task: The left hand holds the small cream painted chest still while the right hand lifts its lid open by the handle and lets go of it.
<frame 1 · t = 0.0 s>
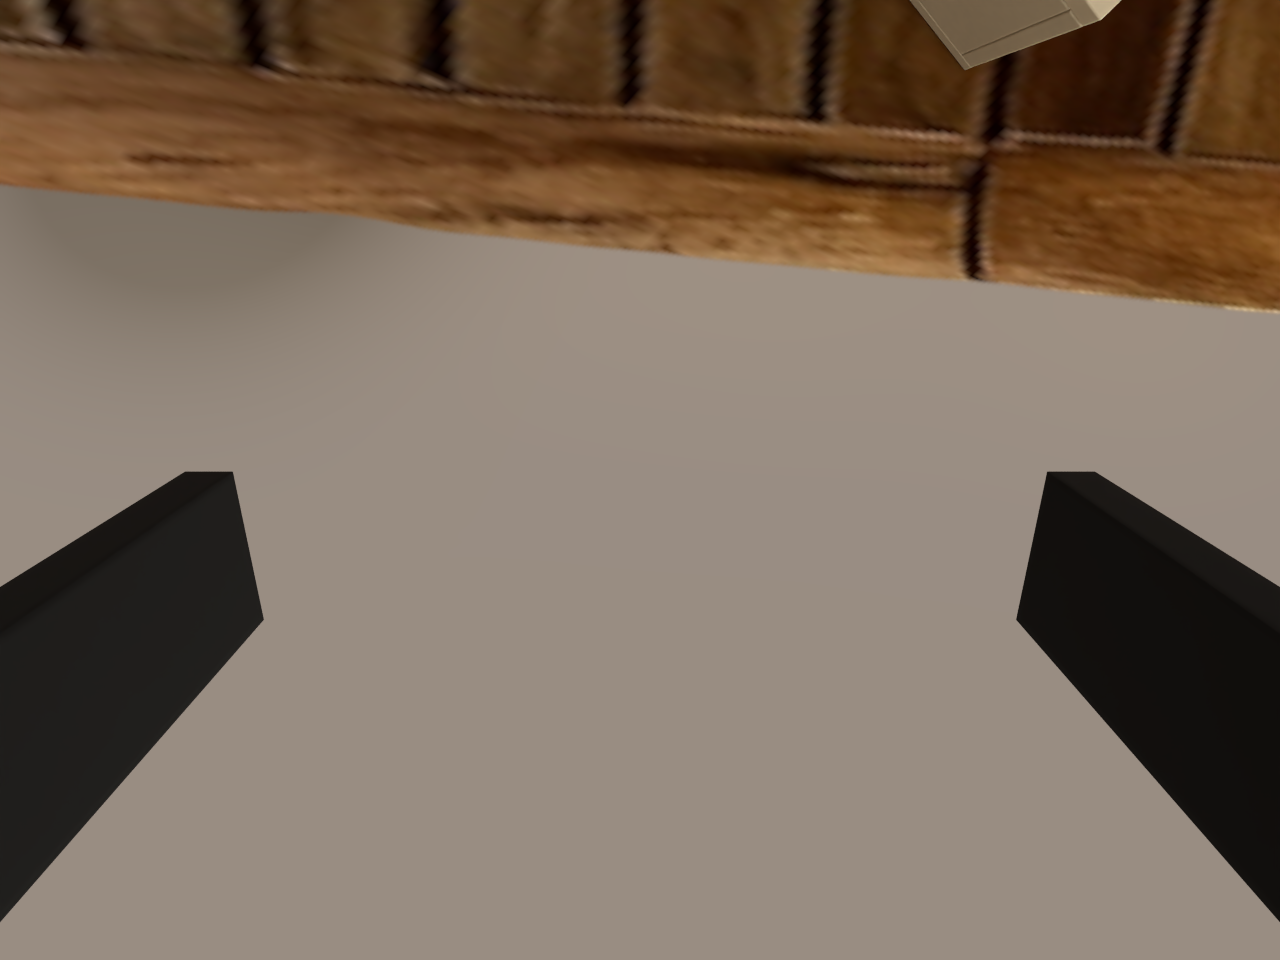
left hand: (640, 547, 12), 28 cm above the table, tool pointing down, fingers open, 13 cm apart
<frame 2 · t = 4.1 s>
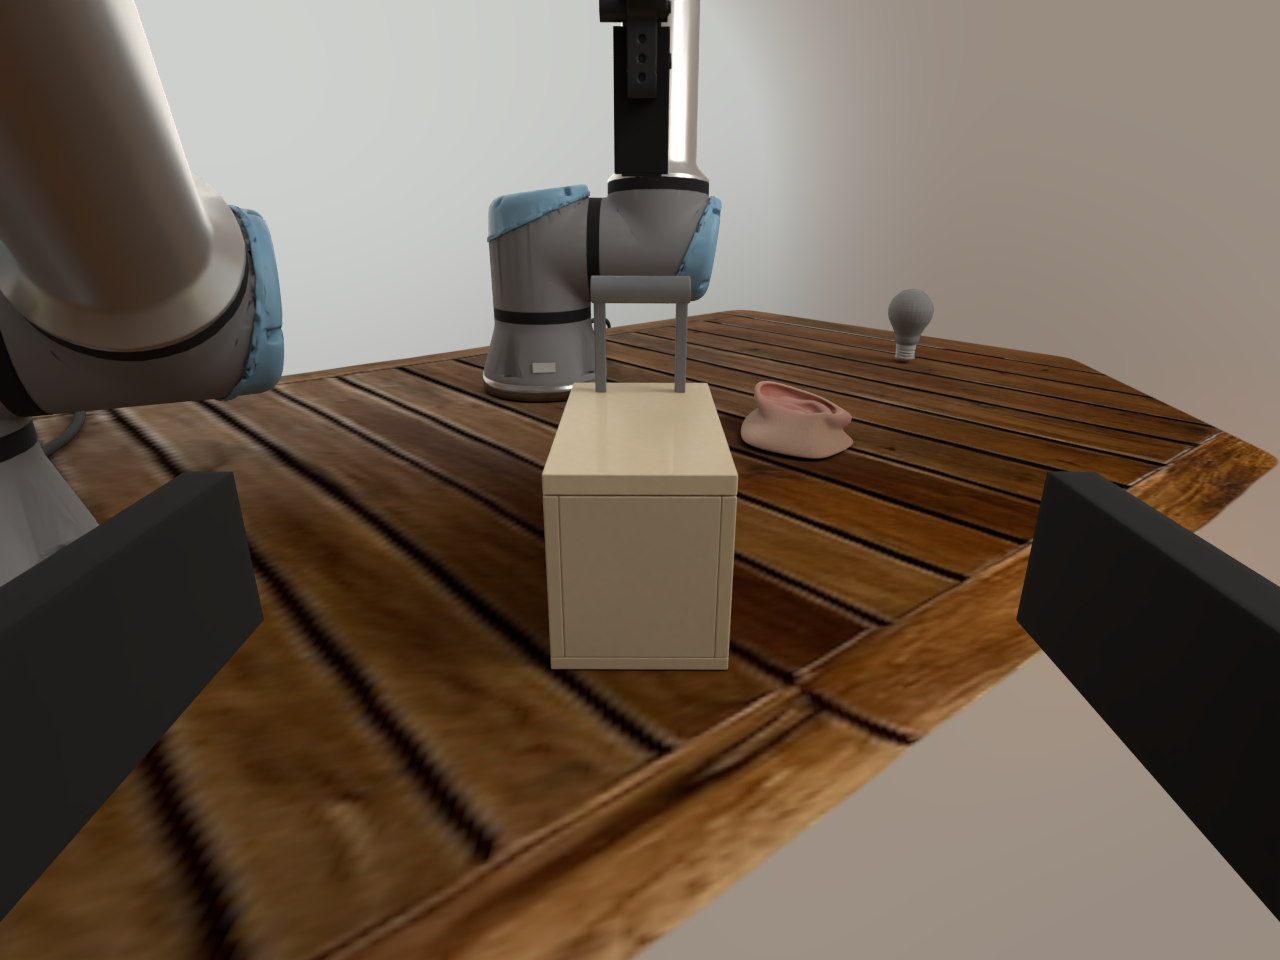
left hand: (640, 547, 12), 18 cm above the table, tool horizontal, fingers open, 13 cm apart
lid: (640, 366, 42), point 14 cm above the table, hinge at 0.0°
chest: (639, 590, 47), on the table
light bulb: (903, 361, 108), on the table
anatomical model: (794, 437, 76), on the table
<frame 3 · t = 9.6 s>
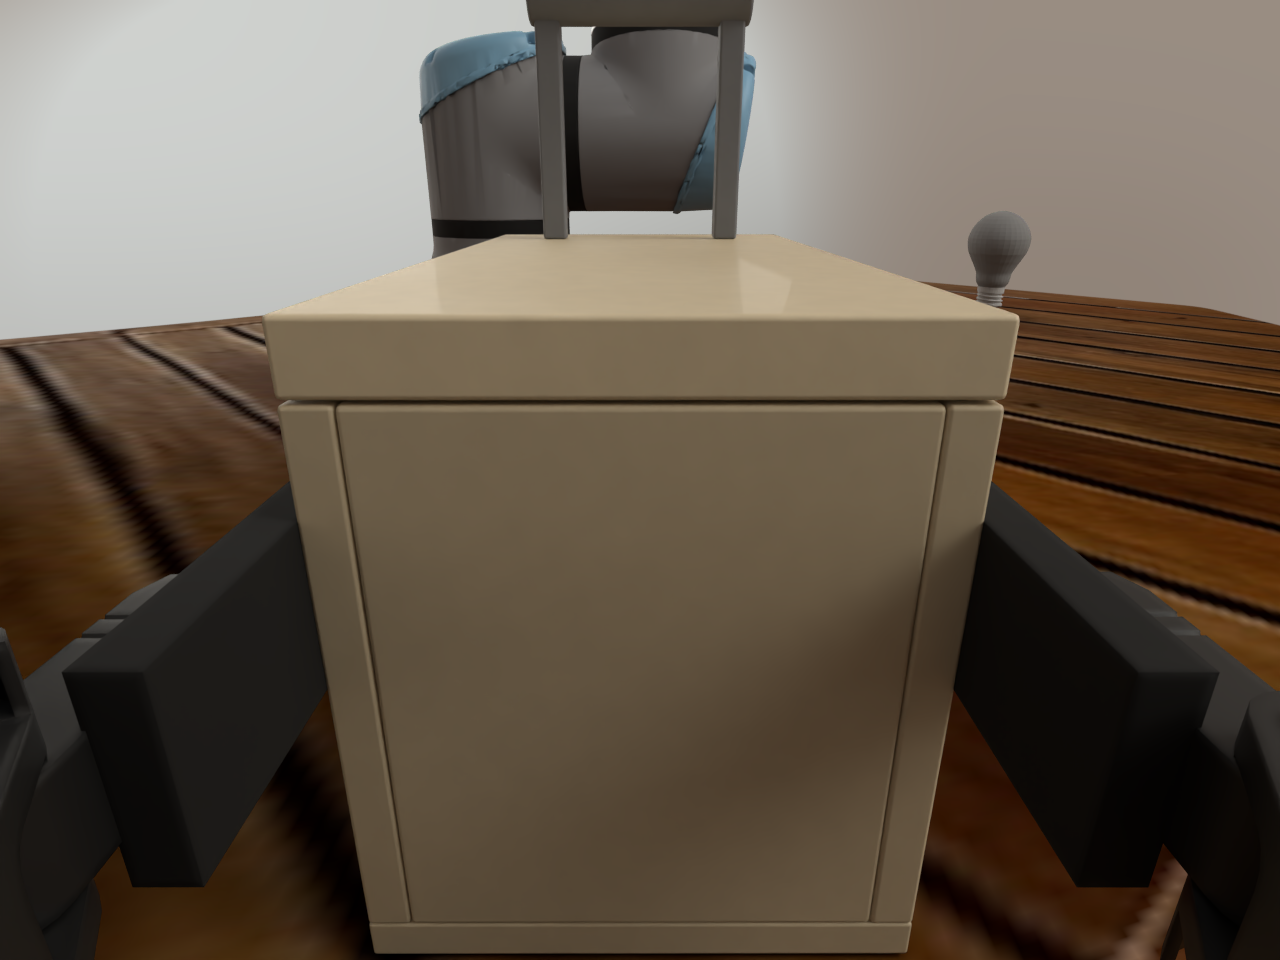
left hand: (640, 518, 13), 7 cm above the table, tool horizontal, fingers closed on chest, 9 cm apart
lid: (640, 103, 16), point 14 cm above the table, hinge at 0.0°
chest: (640, 669, 21), on the table, touching left hand
light bulb: (987, 310, 82), on the table
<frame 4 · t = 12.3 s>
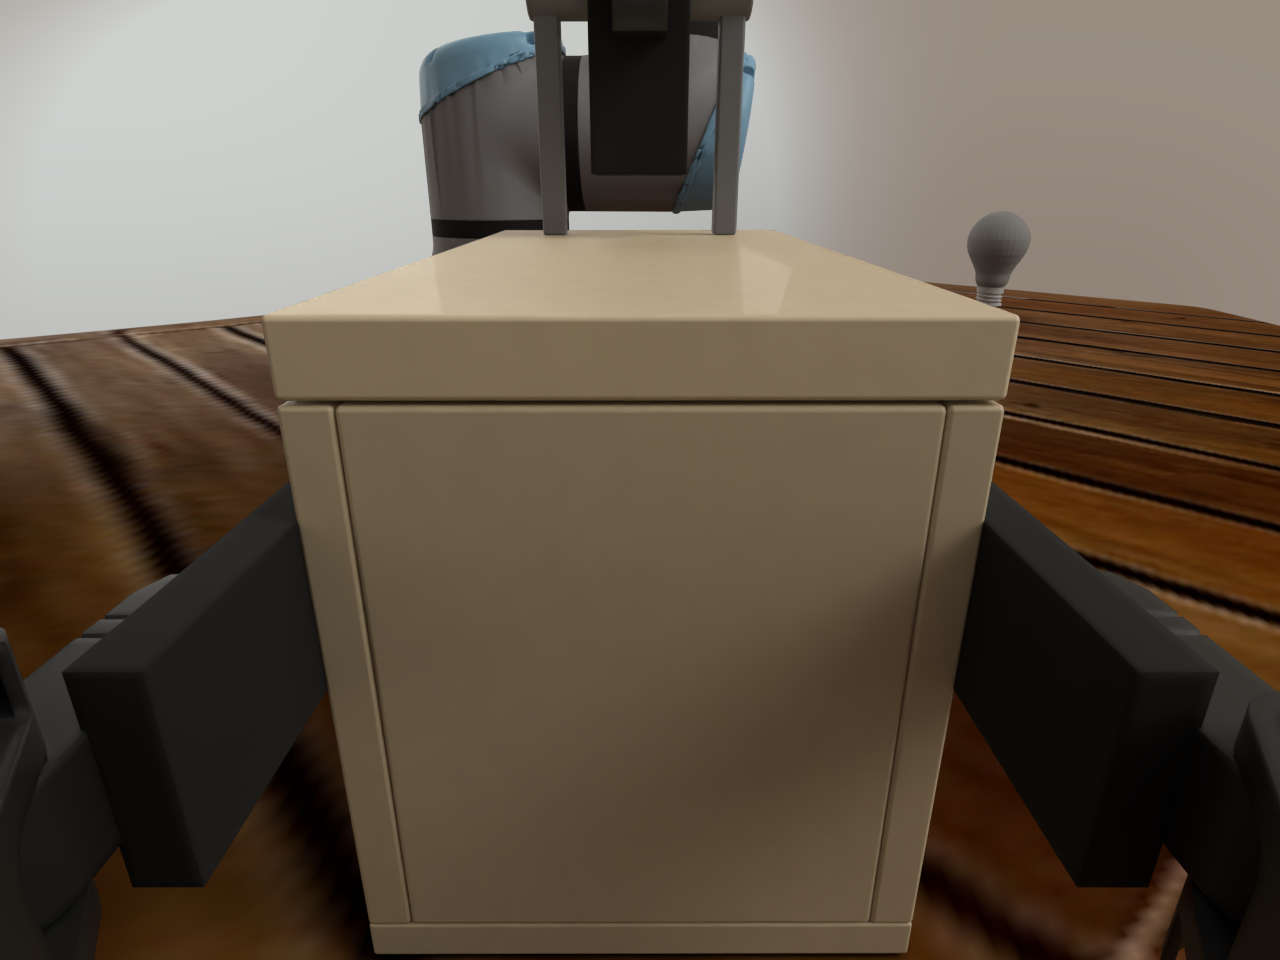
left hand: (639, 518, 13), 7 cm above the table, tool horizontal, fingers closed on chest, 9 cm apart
lid: (639, 99, 16), point 14 cm above the table, hinge at 0.5°, touching right hand
chest: (640, 669, 21), on the table, touching left hand
light bulb: (986, 310, 82), on the table
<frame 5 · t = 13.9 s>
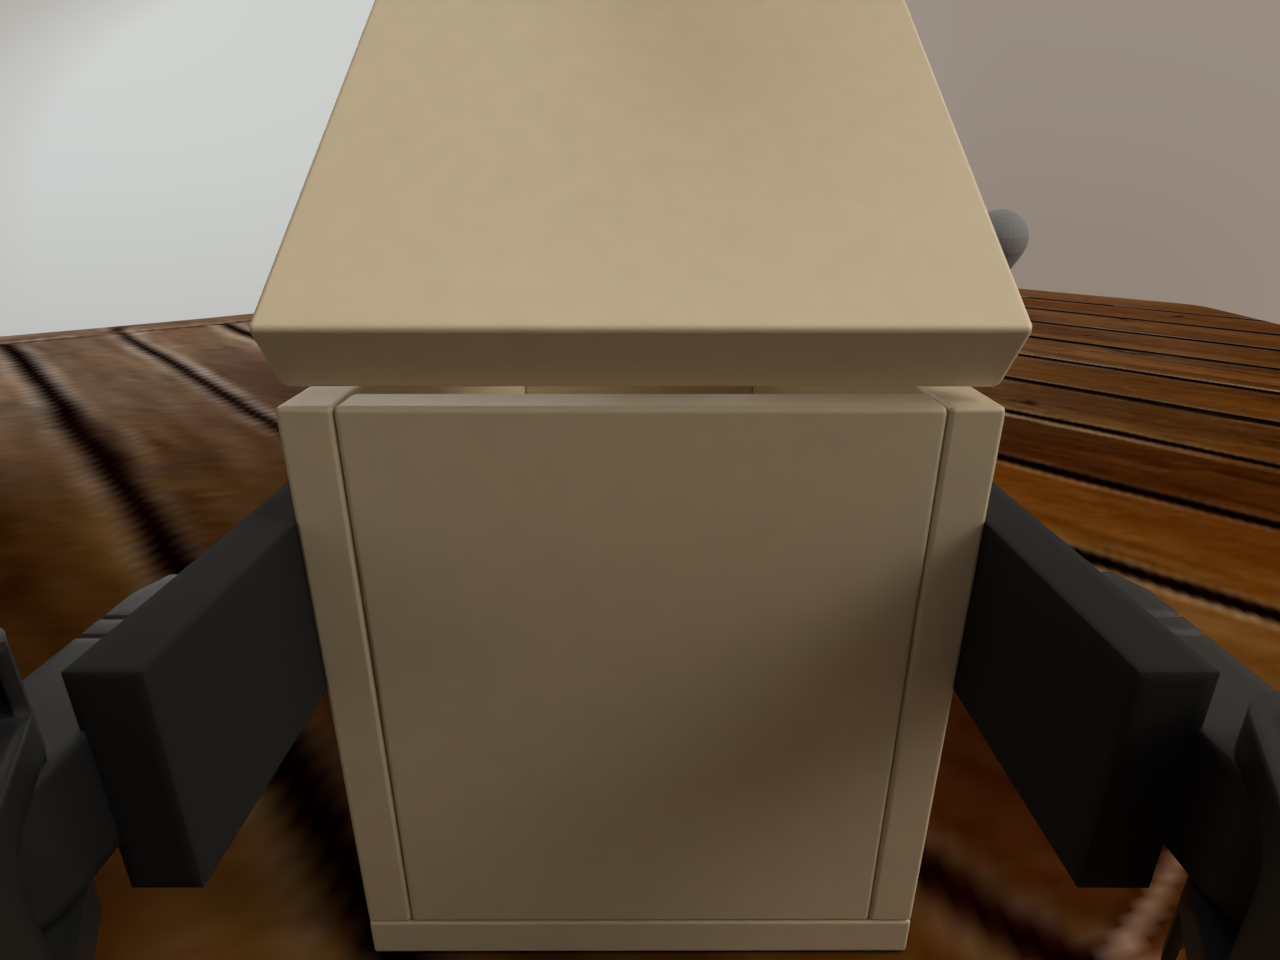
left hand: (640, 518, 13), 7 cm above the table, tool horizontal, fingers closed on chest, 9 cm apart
chest: (639, 665, 21), on the table, touching left hand
light bulb: (985, 308, 82), on the table
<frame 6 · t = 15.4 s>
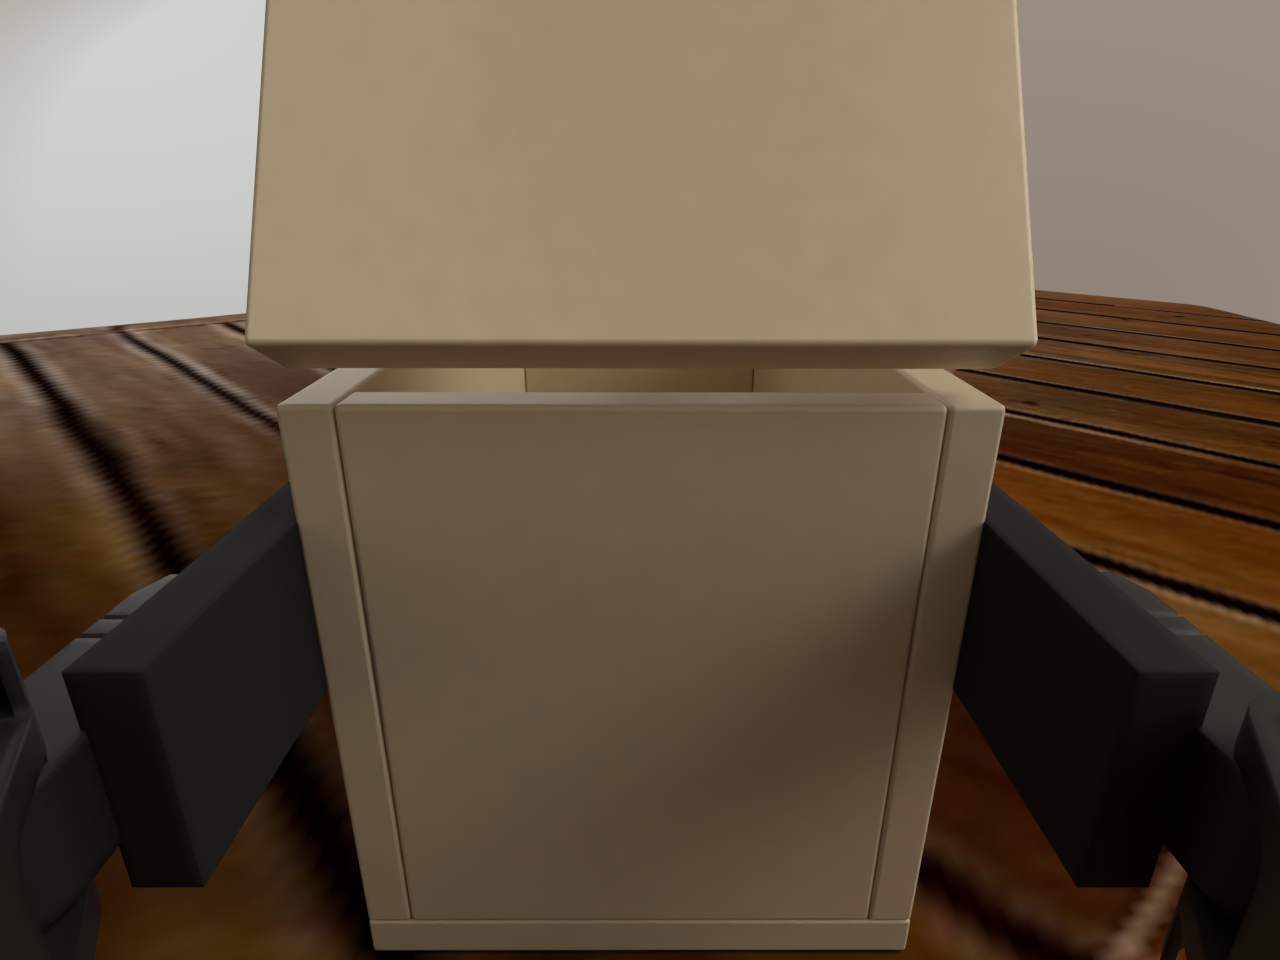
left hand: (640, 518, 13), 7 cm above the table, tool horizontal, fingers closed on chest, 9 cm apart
chest: (639, 665, 21), on the table, touching left hand
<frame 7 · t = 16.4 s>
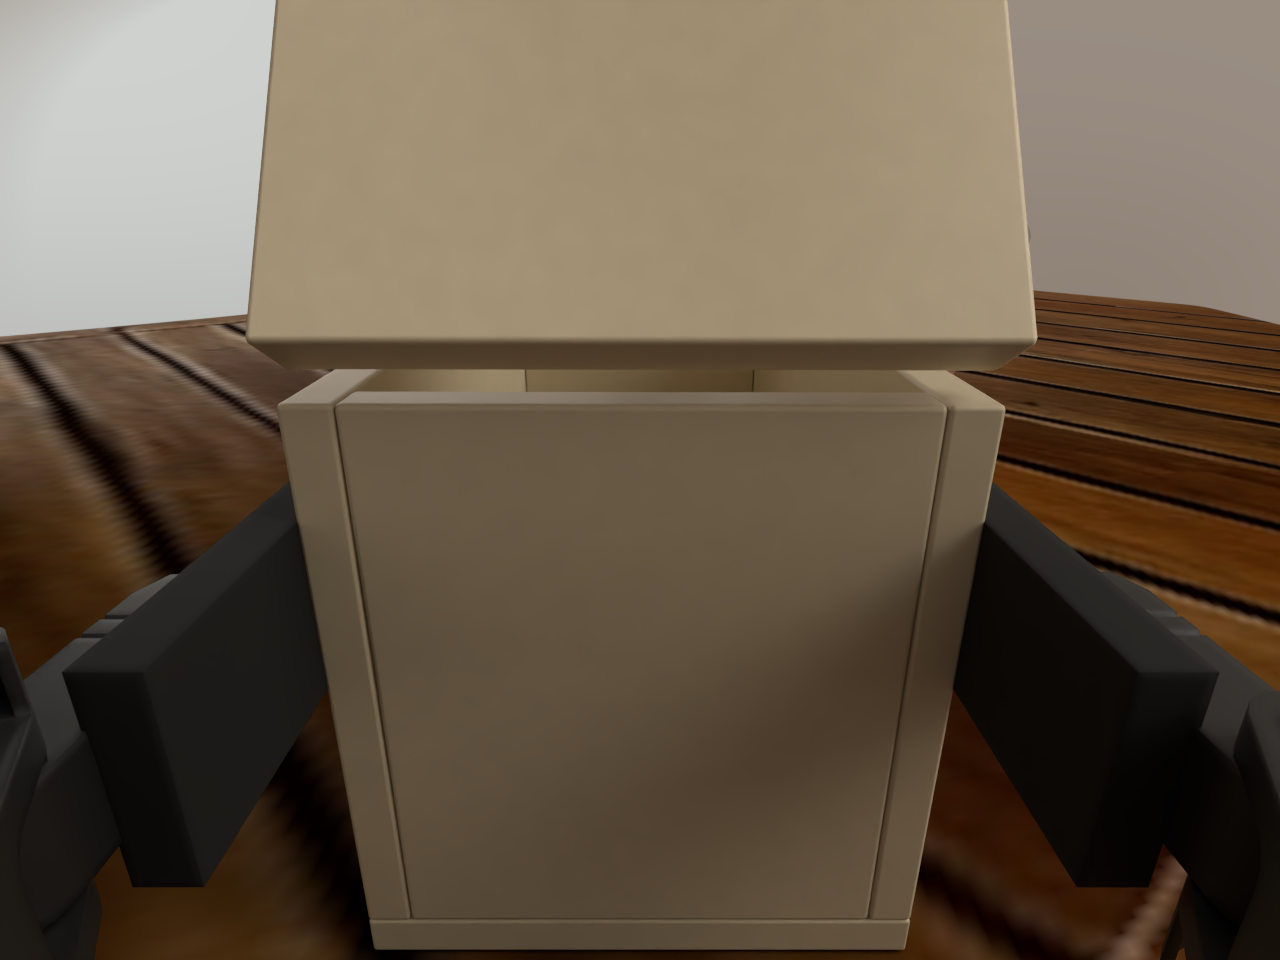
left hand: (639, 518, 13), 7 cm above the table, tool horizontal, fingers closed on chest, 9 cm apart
chest: (639, 665, 21), on the table, touching left hand
when the left hand's fingers open (7 cm above the table, at t = 19.1 s): chest stays where it is, on the table.
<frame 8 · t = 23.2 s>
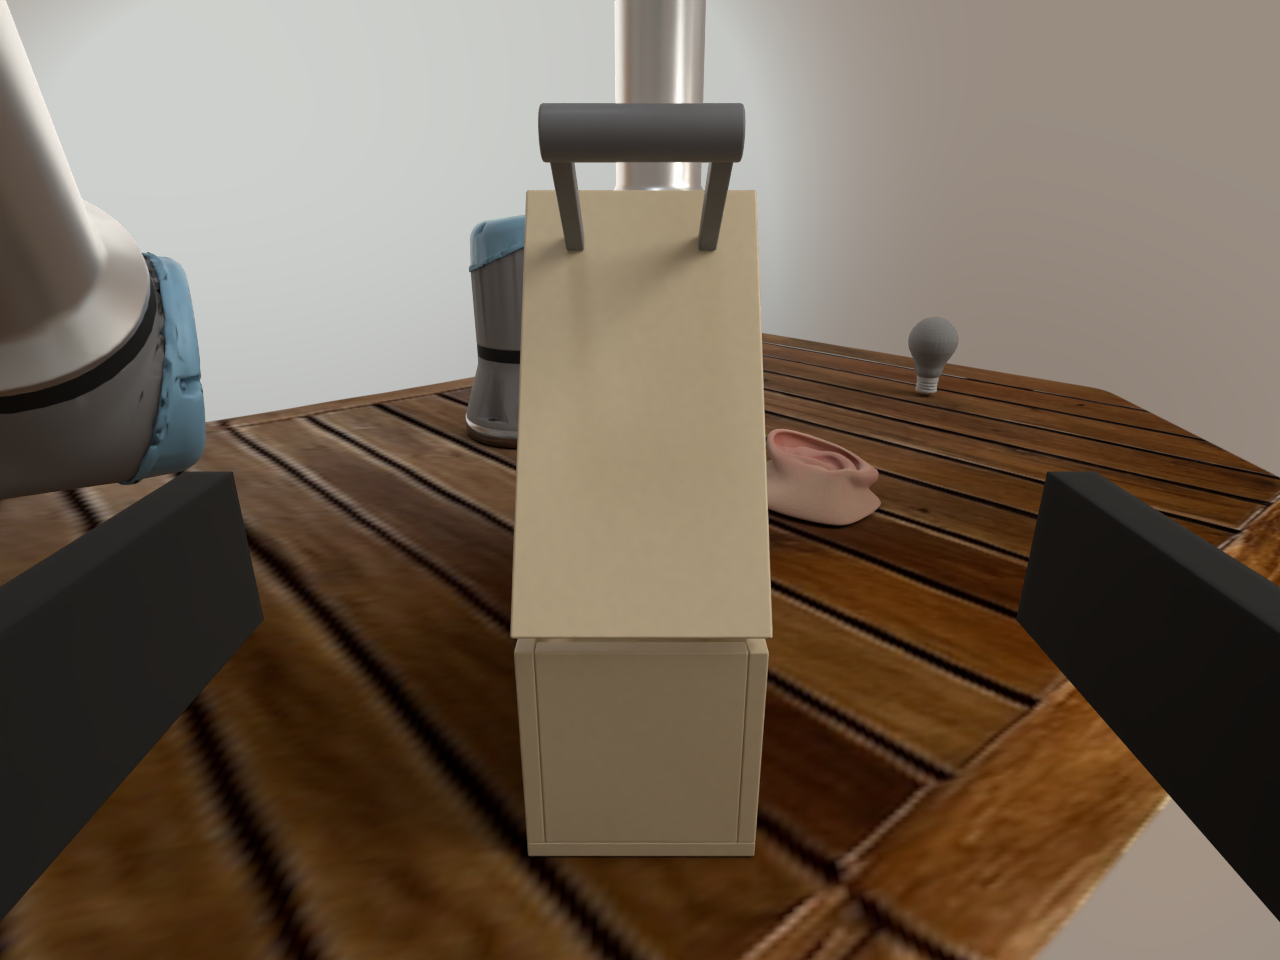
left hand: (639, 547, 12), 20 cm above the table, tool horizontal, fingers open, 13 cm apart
lid: (641, 369, 25), point 20 cm above the table, hinge at 56.7°
chest: (640, 722, 39), on the table
light bulb: (925, 395, 99), on the table
anatomical model: (813, 495, 67), on the table
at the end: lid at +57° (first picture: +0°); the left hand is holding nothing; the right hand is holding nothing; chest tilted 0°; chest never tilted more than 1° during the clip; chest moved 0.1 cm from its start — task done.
